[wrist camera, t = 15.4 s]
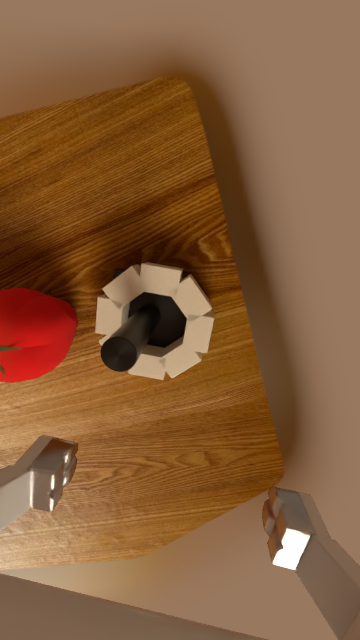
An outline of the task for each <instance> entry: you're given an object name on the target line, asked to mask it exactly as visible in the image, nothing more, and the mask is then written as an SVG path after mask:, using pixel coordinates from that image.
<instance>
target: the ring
mask: <svg viewBox="0 0 360 640" xmlns="http://www.w3.org/2000/svg"><path fill="white" fill-rule="evenodd" d="M182 273H183V268H177V267H172V266H166V265H160V264H155V263H149V262H146V263H142V264H141V267H140V266H139V265H134V266H131V267H129V268H128V269H127V270H126V271H124V272H123V273H122V274H120V275H119V276H118V277H116V278H115V279H114V280H113V281H111V282H110V283H109V284H107V285H106V286H105V287H103V288H102V290H103V291H104V292H105V294H103V295H101V296H99V297H98V300H97V314H96V328H95V333H99V334H104V336H103V337H102V338H101V339H100V340H99V341H98V342H99V343H100V344H101V346H102V345H103V343H104V342H105V341H106V340H107V339H108V338H109V337H110V336H111V335H112V334H113V333H115V332H116V331H117V330H118V329H119V328H120V327H121V326H122V325H123V324H124V323H125V322H126V321H127V320H128V314H129V305H130V301H132V300H133V299H135V298H136V297H137V296H139V295H140V294H141V293H143V292H149V293H154V294H160V295H165V296H171V297H172V298H173V300H174V301H175V303H176V304H177V305H178V307H179V308H180V310H181V311H182V312H183V314H184V315H185V316H186V318H187V322H186V327H185V333H184V336H182V337H181V338H179V339H178V340H176V341H175V342H173V343H172V344H170V345H169V346H167V347H165V348H163V347H157V346H152V345H147V344H146V346H145V348H144V350H143V351H142V353H141V355H140V357H139V358H138V360H137V362H136V364H135V365H134V366H133V367H132V368H131V369H129V372H128V373H129V374H134V375H139V376H144V377H150V378H155V379H160V380H163V379H164V376H165V373H166V372H167V373H168V374H169V376H170V377H171V378H174V377H175V376H177V375H179V374H180V373H182V372H184V371H185V370H187V369H189V368H190V367H192V366H193V365H195V364H197V363H198V362H200V361H201V360H202V357H201V352H202V353H207V350H208V346H209V341H210V336H211V332H212V327H213V322H214V315H213V312H212V311H210V310H211V309H212V305H211V302H210V300H209V299H208V298H207V296H206V295H205V293H204V292H203V290H202V289H201V287H200V286H199V285H198V283H197V282H196V280H195V279H194V277H193V276H192V274H189V275H188V276H186V277H185V278H184V279H182ZM181 279H182V280H181Z"/></svg>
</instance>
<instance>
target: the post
mask: <svg viewBox="0 0 360 640" xmlns="http://www.w3.org/2000/svg"><path fill="white" fill-rule="evenodd" d="M124 271H126V270H122V269H115V272H114V279H115V278H116V277H118V276H119V275H120V274H122V273H123V272H124ZM186 322H187V318H186V316H185V315H184V314H183V312H182V311H181V310H180V308H179V307H178V305H177V304H176V303H175V301H174V300H173V298H172V297H171V296H165V295H160V294H154V293H149V292H143V293H141V294H140V295H139V296H137V297H136V298H135V299H133V300H132V301H130V305H129V314H128V320H127V321H126V322H125V323H124V324H123V325H122V326H121V327H120V328H119V329H118V330H117V331H116V332H115V333H113V334H112V335H111V336H110V337H109V338H108V339H107V340H106V341H105V342H104V343H103V345H102V347H101V358H102V360H103V362H104V364H105V365H106V366H107V367H109V368H110V369H112V370H114V371H119V372H123V371H127V370H129V369H131V368H132V367H133V366H134V365H135V364H136V362H137V360H138V358H139V357H140V355H141V353H142V351H143V350H144V348H145V346H146V344H147V345H152V346H157V347H163V348H165V347H167V346H169V345H170V344H172V343H173V342H175V341H176V340H178V339H179V338H181V337H182V336H184V333H185V327H186Z"/></svg>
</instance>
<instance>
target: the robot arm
mask: <svg viewBox="0 0 360 640" xmlns="http://www.w3.org/2000/svg"><path fill="white" fill-rule="evenodd" d="M77 451H78V444H77V443H75V442H71V441H67V440H63V439H59V438H54V437H50V436H46V435H42V436H40V437H39V438H38V439H37V440H36V441H35V442H34V444H33V445H32V446H31V447H30V448H29V449H28V450H27V451H26V453H25V454H24V455H23V456H22V457H21V458H20V459H19V460H18V461H17V463H16V464H15V465H14V466H10V465H9V466H7V467H5V468H3V469H1V470H0V531H2V530H3V529H4V528H6V527H7V526H8V525H10V524H11V523H12V522H14V521H15V520H16V519H18V518H19V517H20V516H22V515H23V514H24V513H26V512H27V511H28V510H30V508H34V509H39V510H44V511H49V512H53V510H54V508H55V506H56V505H57V503H58V501H59V500H60V498H61V496H62V490H63V488H64V487H65V486H67V485H68V484H69V482H70V481H71V479H72V477H73V474H74V472H75V469H76V465H77V458H76V456H75V454H76V453H77ZM268 495H269V499H268V500H266V501H265V503H264V506H263V512H262V519H263V526H264V530H265V531H266V533H267V534H268V535H269V540H268V543H267V544H268V548H269V552H270V557H271V561H272V564H274V565H278V566H281V567H285V568H288V569H292V570H296V574H297V575H298V577H299V578H300V580H301V581H302V583H303V584H304V586H305V588H306V589H307V591H308V592H309V594H310V596H311V597H312V599H313V600H314V602H315V604H316V605H317V607H318V608H319V610H320V611H321V613H322V614H323V616H324V618H325V619H326V621H327V622H328V624H329V625H330V627H331V629H332V630H333V632H334V633H335V635H336V637H337V638H338V640H360V566H359V565H358V564H357V563H356V562H355V561H354V560H353V558H352V557H351V556H350V555H349V554H348V553H347V552H346V551H345V550H344V549H343V548H342V547H341V546H340V545H339V544H338V543H337V542H336V541H335V540H332V539H331V537H330V535H329V533H328V531H327V529H326V527H325V524H324V522H323V520H322V518H321V516H320V513H319V511H318V509H317V507H316V505H315V503H314V501H313V498H312V497H311V495H310V494H305V493H301V492H295V491H291V490H287V489H282V488H277V487H273V486H272V487H271V488H270V489H269V492H268ZM0 640H267V639H263V638H259V637H255V636H250V635H247V634H243V633H239V632H235V631H231V630H227V629H223V628H219V627H215V626H210V625H206V624H202V623H198V622H194V621H190V620H186V619H182V618H178V617H174V616H170V615H166V614H162V613H157V612H154V611H150V610H145V609H142V608H138V607H134V606H130V605H126V604H121V603H117V602H113V601H109V600H105V599H101V598H97V597H93V596H89V595H85V594H81V593H77V592H73V591H69V590H65V589H61V588H57V587H53V586H49V585H44V584H41V583H37V582H32V581H29V580H25V579H20V578H17V577H13V576H8V575H4V574H0Z"/></svg>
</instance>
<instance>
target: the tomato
mask: <svg viewBox="0 0 360 640" xmlns="http://www.w3.org/2000/svg"><path fill="white" fill-rule="evenodd" d="M77 324H78V321H77V317H76V312H75V310H74V309H73V308H72V307H71V306H70V305H69V304H68V303H67V302H66V301H64V300H61V299H58V298H55V297H53V296H50V295H47V294H44V293H42V292H39V291H36V290H33V289H28V288H22V287H17V288H11V289H5V290H0V381H2V382H11V383H13V382H21V381H25V380H30V379H35V378H38V377H40V376H42V375H44V374H46V373H48V372H50V371H52V370H53V369H54V368H56V367H57V366H58V365H59V364H60V363H61V361H62V360H63V359H64V358H65V357H66V354H67V352H68V350H69V348H70V346H71V343H72V341H73V338H74V334H75V331H76V327H77Z"/></svg>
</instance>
